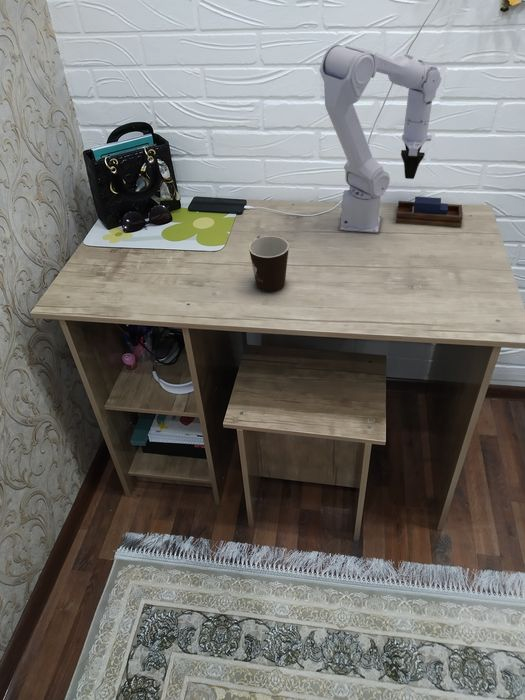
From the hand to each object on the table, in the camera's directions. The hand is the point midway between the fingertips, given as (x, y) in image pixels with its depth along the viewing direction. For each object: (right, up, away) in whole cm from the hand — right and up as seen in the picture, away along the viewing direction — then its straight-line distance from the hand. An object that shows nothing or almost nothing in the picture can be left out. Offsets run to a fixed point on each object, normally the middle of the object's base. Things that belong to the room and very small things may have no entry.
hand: (410, 171), depth 147 cm
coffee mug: (-36, -30, -16) cm, 50 cm away
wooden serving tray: (+5, -12, +1) cm, 13 cm away
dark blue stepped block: (+5, -11, 0) cm, 12 cm away
